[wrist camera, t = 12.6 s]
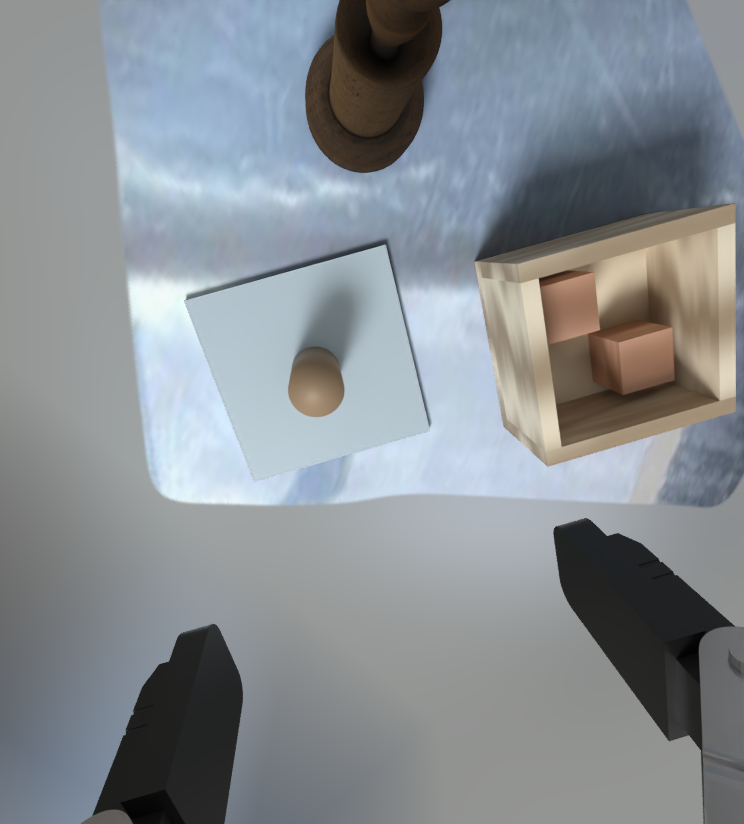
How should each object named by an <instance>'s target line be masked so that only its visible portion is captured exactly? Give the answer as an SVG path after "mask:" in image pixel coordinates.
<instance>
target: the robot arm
mask: <svg viewBox="0 0 744 824" xmlns="http://www.w3.org/2000/svg"><path fill="white" fill-rule="evenodd" d="M554 541H555V548H556V556H557V562H558V570H559V577H560V583H561V586H562V589H563V592H564V595H565V597H566V599H567V601H568V603H569V605H570V606H571V608H572V609H573V611H574V612H575V613H576V615H577V616H578V618H579V619H580V620H581V622H582V623H583V624H584V626H585V627H586V628H587V630H588V631H589V632H590V634H591V635H592V637H593V638H594V639H595V641H596V642H597V644H598V645H599V646H600V648H601V649H602V650H603V652H604V653H605V654H606V656H607V657H608V659H609V660H610V661H611V663H612V664H613V665H614V667H615V668H616V669H617V671H618V672H619V674H620V675H621V676H622V678H623V679H624V680H625V682H626V683H627V684H628V686H629V687H630V688H631V690H632V691H633V693H634V694H635V695H636V697H637V698H638V699H639V700H640V702H641V704H642V705H643V706H644V708H645V709H646V710H647V712H648V713H649V714H650V716H651V717H652V719H653V720H654V721H655V723H656V724H657V725H658V727H659V728H660V729H661V731H662V732H663V734H664V735H665V736H666V738H667V739H668V740H669V741H671V740H674V739H678V738H681V737H684V736H687V735H689V736H690V737H691V738H692V740H693V741H694V742H695V743H696V745H697V746H698V747H699V749H700V750H701V769H702V797H703V824H744V627H736V626H734V625H733V624H732V623H731V622H729V621H728V620H727V619H726V618H725V617H724V616H723V615H722V614H720V613H719V612H718V611H717V610H716V609H715V608H714V607H713V606H711V605H710V604H709V603H708V602H707V601H706V600H705V599H703V598H702V597H701V596H700V595H699V594H698V593H697V592H695V591H694V590H693V589H692V588H691V587H690V586H689V585H688V584H687V583H685V582H684V581H683V580H682V579H681V578H679V576H677V575H674V573H673V571H672V570H670V568H668V567H667V566H666V565H665V564H664V563H663V562H660V561H659V559H658V558H657V557H656V556H655V555H654V554H653V553H651V552H650V551H649V550H648V549H647V548H646V547H644V546H643V545H642V544H641V543H639V542H637V541H634V540H632V539H630V538H628V537H625V536H623V535H621V534H619V533H617V534H613V535H610V536H606V535H605V534H604V533H603V532H602V531H601V530H600V529H599V528H598V527H597V526H596V525H595V524H594V523H593V522H592V521H591V520H589V519H587V518H584V519H581V520H577V521H574V522H570V523H567V524H564V525H560V526H556V527H555V528H554ZM242 703H243V690H242V682H241V678H240V674H239V672H238V669H237V667H236V665H235V663H234V661H233V658H232V656H231V654H230V652H229V649H228V647H227V645H226V643H225V640H224V638H223V636H222V634H221V632H220V630H219V628H218V627H217V625H215V624H211V625H208V626H204V627H201V628H197V629H194V630H190V631H187V632H183V633H181V634H180V635H179V636H178V638H177V640H176V643H175V646H174V649H173V652H172V655H171V658H170V660H169V662H166V663H162V664H159V665H158V667H157V668H156V670H155V671H154V672H153V673H152V675H151V676H150V678H149V679H148V680H147V681H146V683H145V684H144V686H143V687H142V689H141V692H140V694H139V697H138V700H137V702H136V705H135V707H134V710H133V712H134V714H133V715H132V716H131V718H130V720H129V723H128V725H127V728H126V735H124V736H123V738H122V741H121V743H120V746H119V748H118V751H117V754H116V757H115V759H114V761H113V764H112V767H111V769H110V772H109V774H108V777H107V780H106V782H105V785H104V787H103V790H102V793H101V795H100V797H99V800H98V803H97V805H96V808H95V810H94V813H93V815H92V817H90V818H88V819H87V820H85V821H84V822H82V823H81V824H224V822H225V816H226V809H227V802H228V796H229V789H230V783H231V776H232V769H233V763H234V756H235V750H236V743H237V736H238V729H239V723H240V717H241V710H242Z"/></svg>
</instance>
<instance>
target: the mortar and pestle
mask: <svg viewBox="0 0 744 824" xmlns="http://www.w3.org/2000/svg"><path fill="white" fill-rule="evenodd" d="M449 1H450V0H340V1H339V4H338V8H337V13H336V20H335V35H334V36H333V37H331V38H330V39H329V40H327V41H326V42H325V43H324V44H323V46H322V47H321V48H320V49H319V51H318V52H317V54H316V55H315V57H314V59H313V61H312V63H311V66H310V68H309V72H308V76H307V81H306V90H305V101H306V115H307V120H308V124H309V128H310V131H311V133H312V136H313V138H314V140H315V142H316V144H317V145H318V147H319V148H320V150H321V151H322V152H323V153H324V154H325V155H326V156H327V157H328V158H329V159H330V160H331V161H332V162H334V163H335V164H337V165H338V166H340V167H342V168H344V169H347V170H350V171H353V172H359V173H368V172H375V171H379V170H381V169H384V168H386V167H388V166H389V165H391V164H392V163H394V162H395V161H396V160H397V159H398V158H399V157H400V156H401V155H402V154H403V153H404V152H405V150H406V149H407V148H408V147H409V145H410V144H411V142H412V141H413V139H414V138H415V136H416V134H417V131H418V129H419V126H420V123H421V120H422V115H423V108H424V93H423V85H422V79H423V78H424V77H425V75H426V74H427V72H428V71H429V69H430V68H431V66H432V64H433V63H434V61H435V59H436V56H437V54H438V51H439V48H440V44H441V38H442V19H441V13H440V9H439V7H441V6H443V5H444V4H446V3H447V2H449Z"/></svg>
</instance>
